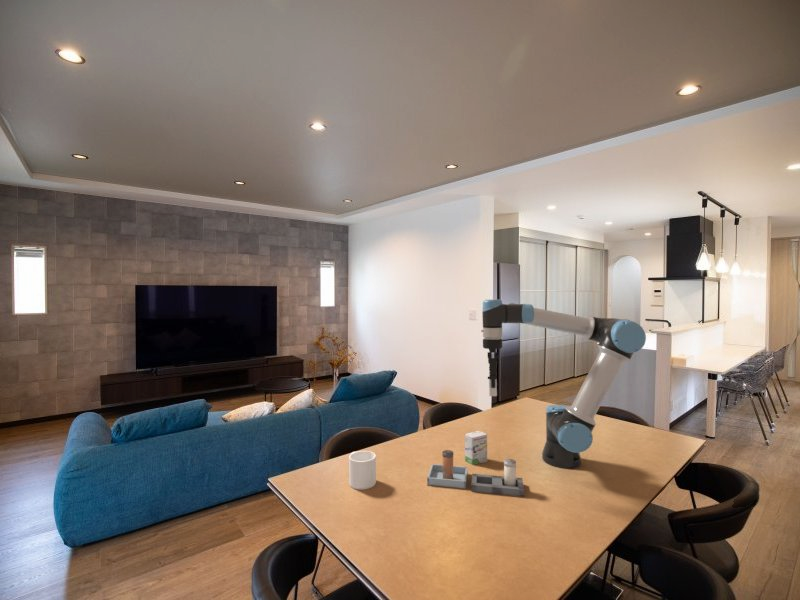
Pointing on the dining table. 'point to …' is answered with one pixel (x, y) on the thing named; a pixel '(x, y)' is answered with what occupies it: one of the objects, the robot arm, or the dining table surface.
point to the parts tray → (437, 479)
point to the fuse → (510, 472)
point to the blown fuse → (447, 464)
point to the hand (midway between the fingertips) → (492, 391)
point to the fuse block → (495, 485)
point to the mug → (362, 470)
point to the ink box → (475, 447)
